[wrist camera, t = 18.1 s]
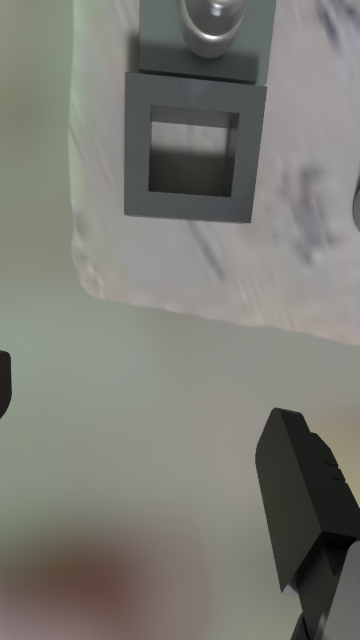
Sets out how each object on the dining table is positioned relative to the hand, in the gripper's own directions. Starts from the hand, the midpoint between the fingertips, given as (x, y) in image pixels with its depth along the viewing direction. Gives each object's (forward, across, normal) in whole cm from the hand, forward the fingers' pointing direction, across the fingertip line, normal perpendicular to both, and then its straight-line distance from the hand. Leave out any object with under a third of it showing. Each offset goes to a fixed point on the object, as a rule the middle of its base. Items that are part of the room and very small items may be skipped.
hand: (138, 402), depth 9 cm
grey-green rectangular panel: (+36, +2, -21) cm, 41 cm away
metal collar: (+34, +1, -8) cm, 35 cm away
